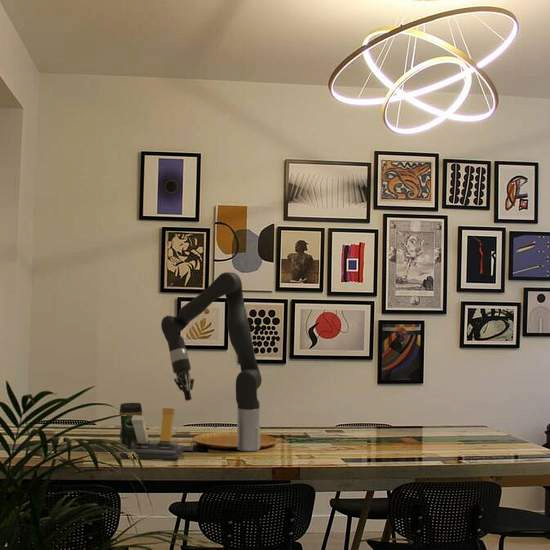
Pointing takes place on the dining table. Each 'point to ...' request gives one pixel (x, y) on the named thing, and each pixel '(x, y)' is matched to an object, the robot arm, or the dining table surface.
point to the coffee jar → (128, 422)
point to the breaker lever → (166, 427)
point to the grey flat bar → (152, 454)
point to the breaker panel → (155, 446)
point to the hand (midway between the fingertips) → (188, 400)
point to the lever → (140, 430)
